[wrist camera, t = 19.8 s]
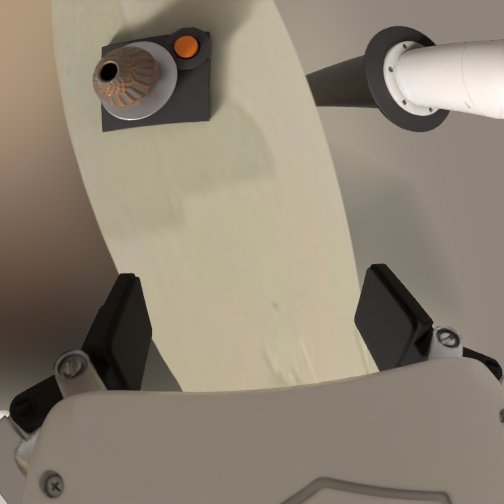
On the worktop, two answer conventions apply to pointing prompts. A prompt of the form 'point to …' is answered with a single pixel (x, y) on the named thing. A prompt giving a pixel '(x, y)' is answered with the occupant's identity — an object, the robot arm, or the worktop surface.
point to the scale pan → (160, 93)
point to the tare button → (186, 46)
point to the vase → (125, 76)
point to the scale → (187, 88)
